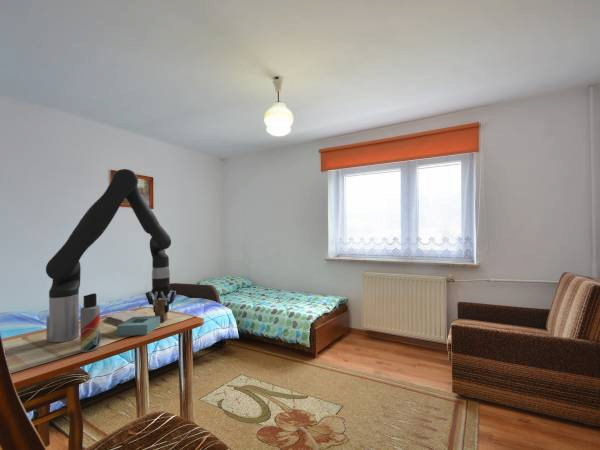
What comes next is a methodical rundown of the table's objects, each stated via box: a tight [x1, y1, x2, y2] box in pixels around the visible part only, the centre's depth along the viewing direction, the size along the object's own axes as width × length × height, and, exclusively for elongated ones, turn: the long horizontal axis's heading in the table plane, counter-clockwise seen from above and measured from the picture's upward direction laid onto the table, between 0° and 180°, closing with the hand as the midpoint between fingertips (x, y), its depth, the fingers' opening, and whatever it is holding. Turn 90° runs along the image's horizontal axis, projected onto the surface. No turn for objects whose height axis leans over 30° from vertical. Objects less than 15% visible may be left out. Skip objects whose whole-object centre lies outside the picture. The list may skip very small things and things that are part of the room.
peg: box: [154, 298, 168, 323], centre depth 136 cm, size 4×4×10 cm
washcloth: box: [105, 309, 148, 325], centre depth 140 cm, size 12×18×3 cm, turn 59°
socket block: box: [116, 315, 161, 337], centre depth 124 cm, size 12×12×4 cm
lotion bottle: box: [79, 292, 101, 353], centre depth 104 cm, size 6×6×20 cm
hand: (161, 312), depth 136 cm, fingers closed on peg, 4 cm apart
